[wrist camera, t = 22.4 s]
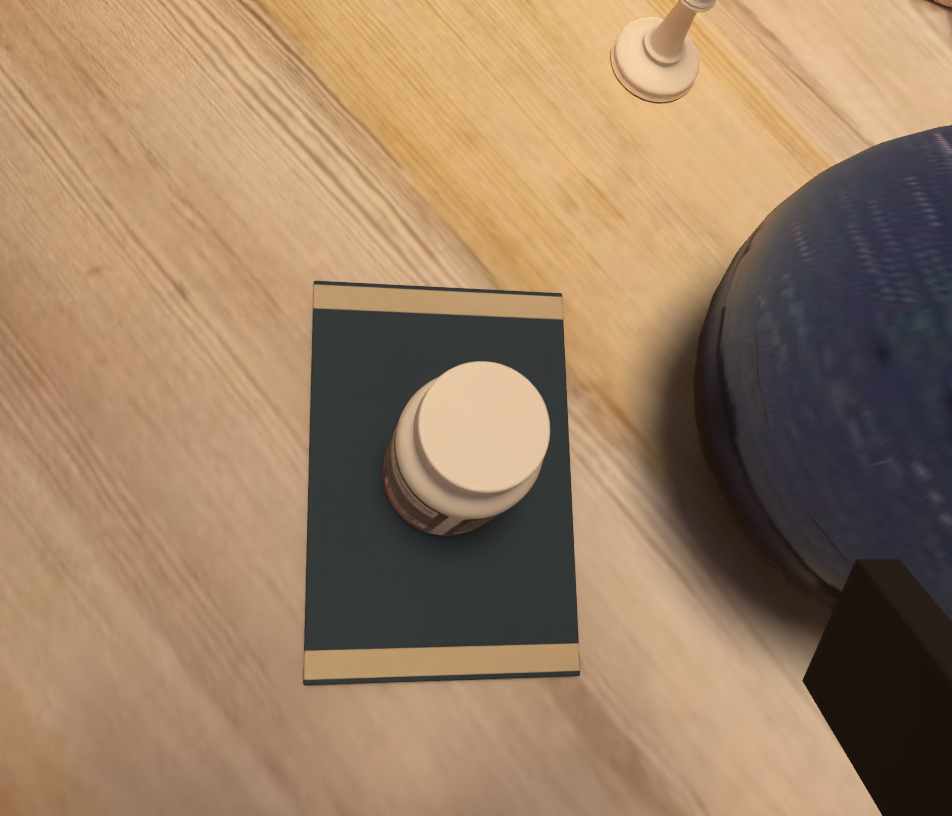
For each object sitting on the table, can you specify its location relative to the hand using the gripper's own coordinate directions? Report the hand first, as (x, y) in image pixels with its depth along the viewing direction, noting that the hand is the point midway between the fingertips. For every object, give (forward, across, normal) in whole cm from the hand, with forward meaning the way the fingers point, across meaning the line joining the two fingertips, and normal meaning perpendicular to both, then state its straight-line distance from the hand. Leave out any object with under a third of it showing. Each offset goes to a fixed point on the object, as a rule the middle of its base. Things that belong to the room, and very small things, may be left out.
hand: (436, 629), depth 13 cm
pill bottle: (+22, +4, -13) cm, 26 cm away
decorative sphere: (+24, +23, -12) cm, 36 cm away
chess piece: (+39, +16, +3) cm, 43 cm away
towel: (+23, +4, -13) cm, 27 cm away
